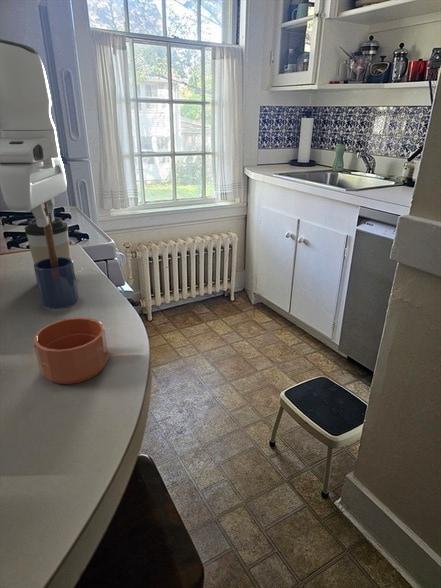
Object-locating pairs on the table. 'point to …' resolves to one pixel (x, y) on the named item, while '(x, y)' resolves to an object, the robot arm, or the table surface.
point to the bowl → (71, 350)
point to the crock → (56, 283)
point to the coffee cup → (39, 240)
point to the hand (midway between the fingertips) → (46, 224)
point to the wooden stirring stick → (50, 240)
